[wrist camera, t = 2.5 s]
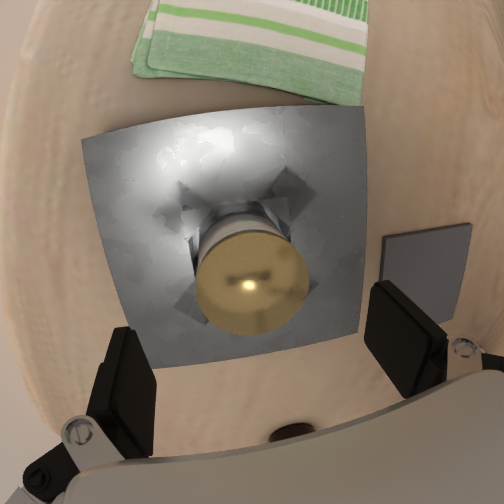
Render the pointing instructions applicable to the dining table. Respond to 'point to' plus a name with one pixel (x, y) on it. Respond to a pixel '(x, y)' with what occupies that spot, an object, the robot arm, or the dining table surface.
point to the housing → (222, 193)
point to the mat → (428, 267)
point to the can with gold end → (248, 271)
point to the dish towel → (259, 45)
